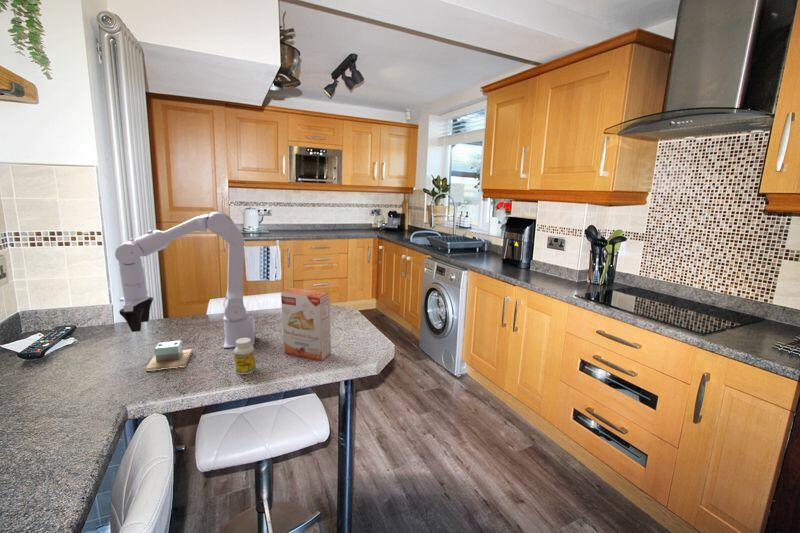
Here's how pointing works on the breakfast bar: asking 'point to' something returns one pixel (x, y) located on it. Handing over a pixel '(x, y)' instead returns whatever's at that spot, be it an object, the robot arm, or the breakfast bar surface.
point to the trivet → (167, 364)
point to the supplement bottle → (244, 356)
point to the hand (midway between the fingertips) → (140, 326)
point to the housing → (168, 351)
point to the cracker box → (306, 323)
